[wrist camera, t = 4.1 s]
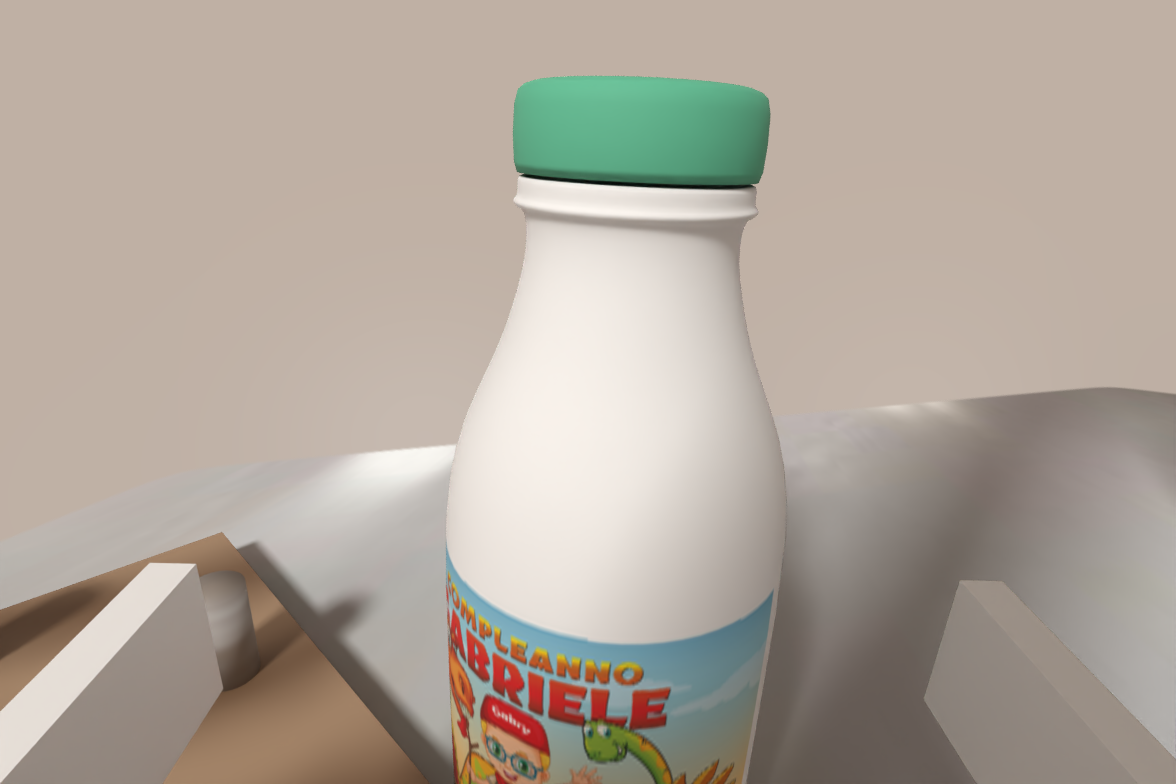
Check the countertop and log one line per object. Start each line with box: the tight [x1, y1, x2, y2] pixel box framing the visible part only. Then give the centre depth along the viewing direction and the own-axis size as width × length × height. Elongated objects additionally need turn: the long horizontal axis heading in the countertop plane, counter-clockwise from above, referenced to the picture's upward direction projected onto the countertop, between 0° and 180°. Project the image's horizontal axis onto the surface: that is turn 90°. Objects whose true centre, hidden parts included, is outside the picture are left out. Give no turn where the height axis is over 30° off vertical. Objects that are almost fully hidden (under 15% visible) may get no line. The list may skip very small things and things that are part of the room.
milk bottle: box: [446, 76, 787, 784], centre depth 15 cm, size 8×8×20 cm
